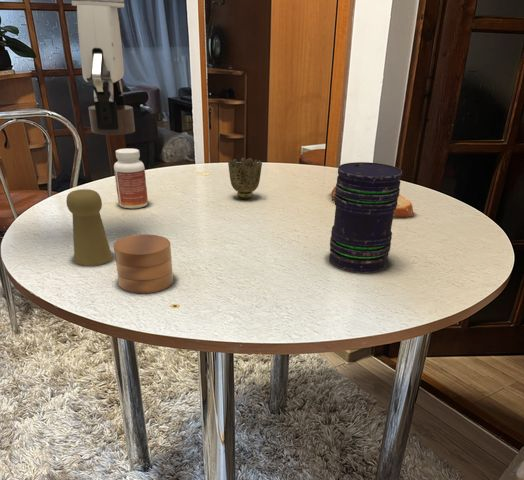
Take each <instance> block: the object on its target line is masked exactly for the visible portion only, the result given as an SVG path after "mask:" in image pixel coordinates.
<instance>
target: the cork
mask: <svg viewBox="0 0 524 480" xmlns="http://www.w3.org/2000/svg"><path fill="white" fill-rule="evenodd" d="M65 202H66V206H67V209H68V211H69V212H70V213H71V214H72V237H73V238H72V239H73V260H74V261H73V262H74V263H75V264H76V265H80V266H85V267H94V266H95V267H96V266H101V265H104V264H107V263H109V262H110V261H112V259H113V254H112V251H111V247H110V244H109V241H108V236H107V234H106V229H105V226H104V223H103V219H102V215H101V212H100V211H101V210H102V209H103V208H102V207H103V201H102V197H101V194H100V193H98V192H97V191H96V190H93V189H86V188H85V189H83V188H82V189H76V190H72V191H70V192H69V193H68V194H67V195H66V201H65Z"/></svg>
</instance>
